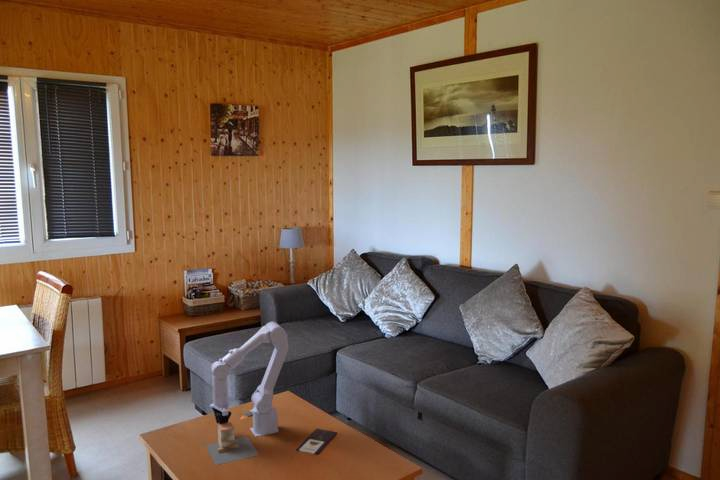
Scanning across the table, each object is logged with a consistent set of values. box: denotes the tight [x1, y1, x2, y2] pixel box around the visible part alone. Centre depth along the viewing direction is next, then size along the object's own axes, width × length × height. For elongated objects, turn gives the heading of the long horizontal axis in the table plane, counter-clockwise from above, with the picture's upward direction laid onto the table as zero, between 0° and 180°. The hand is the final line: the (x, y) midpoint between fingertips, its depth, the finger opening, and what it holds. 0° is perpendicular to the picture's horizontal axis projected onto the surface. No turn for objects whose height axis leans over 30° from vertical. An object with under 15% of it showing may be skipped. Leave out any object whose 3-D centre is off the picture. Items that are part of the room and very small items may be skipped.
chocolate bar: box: [295, 428, 338, 456], centre depth 220 cm, size 9×1×18 cm
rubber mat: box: [205, 436, 260, 466], centre depth 213 cm, size 16×16×1 cm
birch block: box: [217, 421, 236, 448], centre depth 216 cm, size 5×5×8 cm
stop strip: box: [218, 444, 240, 453], centre depth 213 cm, size 8×1×1 cm, turn 117°
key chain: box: [238, 408, 253, 420], centre depth 242 cm, size 13×4×2 cm, turn 152°
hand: (221, 426), depth 221 cm, fingers open, 6 cm apart
